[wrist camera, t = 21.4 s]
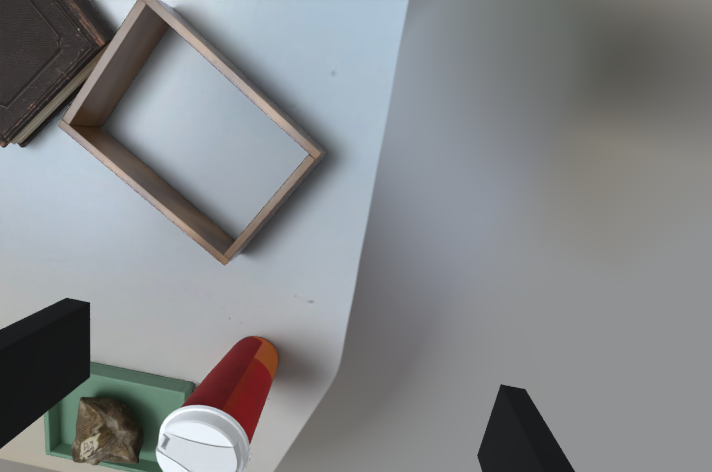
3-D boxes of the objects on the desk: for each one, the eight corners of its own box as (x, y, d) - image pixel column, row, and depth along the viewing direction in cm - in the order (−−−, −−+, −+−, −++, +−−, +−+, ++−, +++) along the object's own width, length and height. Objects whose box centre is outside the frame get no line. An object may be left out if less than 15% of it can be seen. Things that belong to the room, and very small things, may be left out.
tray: (193, 382, 43) (184, 393, 42) (186, 468, 47) (178, 482, 45) (55, 354, 44) (41, 363, 42) (58, 442, 47) (45, 454, 45)
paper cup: (213, 368, 43) (136, 471, 29) (238, 316, 41) (168, 401, 27) (272, 396, 43) (224, 511, 30) (299, 346, 41) (260, 445, 28)
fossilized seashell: (159, 461, 43) (135, 382, 42) (95, 504, 38) (67, 414, 37) (135, 448, 48) (113, 376, 47) (75, 485, 42) (50, 405, 42)
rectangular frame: (327, 152, 36) (321, 153, 32) (239, 254, 39) (224, 266, 35) (171, 7, 33) (143, -12, 30) (91, 127, 37) (57, 125, 33)
